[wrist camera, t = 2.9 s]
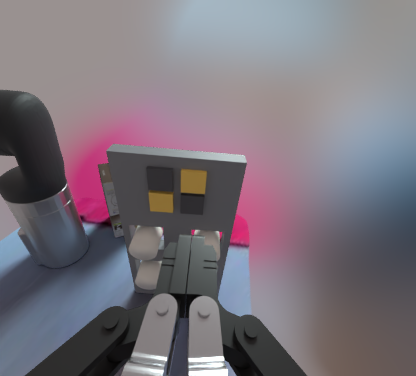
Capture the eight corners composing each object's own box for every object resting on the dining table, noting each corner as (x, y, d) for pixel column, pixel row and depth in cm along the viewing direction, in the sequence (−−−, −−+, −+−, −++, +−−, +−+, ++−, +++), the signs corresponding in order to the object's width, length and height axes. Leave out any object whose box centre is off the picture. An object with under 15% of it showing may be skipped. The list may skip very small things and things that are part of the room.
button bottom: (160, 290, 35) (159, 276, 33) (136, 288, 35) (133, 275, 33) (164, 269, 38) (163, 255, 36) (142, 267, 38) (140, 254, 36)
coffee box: (141, 231, 53) (134, 178, 44) (114, 238, 51) (101, 183, 42) (134, 209, 60) (126, 159, 51) (109, 215, 57) (97, 163, 48)
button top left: (157, 261, 31) (156, 243, 28) (130, 259, 30) (126, 241, 28) (163, 240, 34) (162, 222, 32) (138, 238, 34) (135, 220, 31)
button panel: (217, 300, 40) (247, 165, 23) (134, 295, 40) (104, 153, 23) (216, 262, 48) (239, 137, 31) (146, 258, 47) (129, 127, 30)
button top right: (218, 265, 31) (221, 247, 29) (191, 263, 31) (192, 245, 29) (217, 243, 34) (220, 226, 32) (193, 242, 34) (194, 224, 32)
